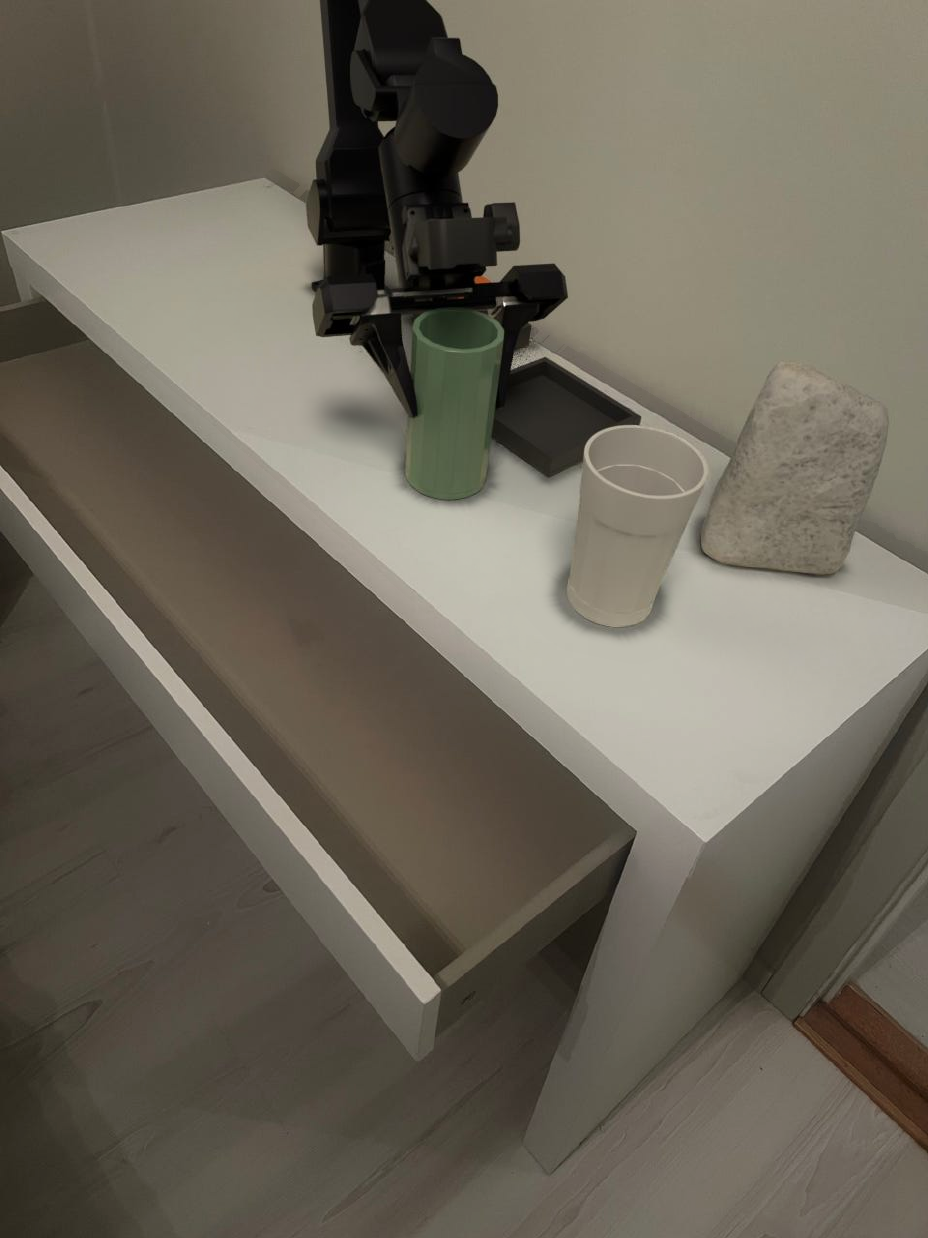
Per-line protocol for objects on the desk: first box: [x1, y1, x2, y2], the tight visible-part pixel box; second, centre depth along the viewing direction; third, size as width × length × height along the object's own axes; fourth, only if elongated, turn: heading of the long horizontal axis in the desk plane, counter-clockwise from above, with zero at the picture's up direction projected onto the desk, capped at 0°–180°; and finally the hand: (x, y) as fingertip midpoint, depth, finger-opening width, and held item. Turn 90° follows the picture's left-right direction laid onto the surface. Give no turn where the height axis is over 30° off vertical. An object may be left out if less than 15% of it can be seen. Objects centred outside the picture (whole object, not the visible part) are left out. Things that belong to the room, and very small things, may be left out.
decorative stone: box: [700, 360, 890, 575], centre depth 68 cm, size 11×6×15 cm, turn 78°
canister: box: [404, 307, 504, 501], centre depth 72 cm, size 7×7×13 cm
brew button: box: [458, 275, 492, 299], centre depth 91 cm, size 3×3×2 cm
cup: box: [566, 424, 709, 628], centre depth 63 cm, size 8×8×12 cm
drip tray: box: [491, 356, 642, 479], centre depth 83 cm, size 12×11×2 cm
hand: (457, 412), depth 71 cm, fingers closed on canister, 6 cm apart
